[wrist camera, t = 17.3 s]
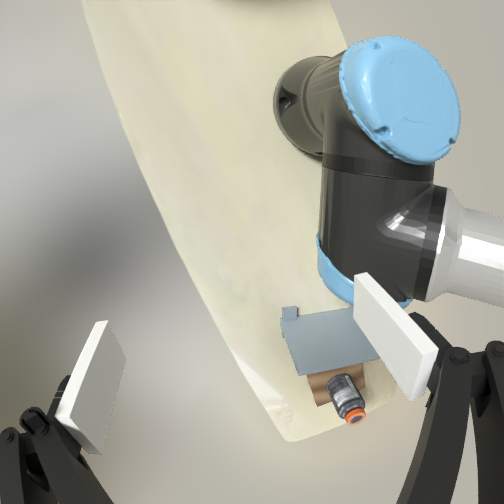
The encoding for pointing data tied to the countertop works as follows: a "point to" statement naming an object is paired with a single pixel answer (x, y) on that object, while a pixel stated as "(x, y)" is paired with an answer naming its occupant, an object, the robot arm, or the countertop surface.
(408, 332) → the robot arm
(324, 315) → the screen
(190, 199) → the countertop surface
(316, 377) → the plinth
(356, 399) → the pill bottle
